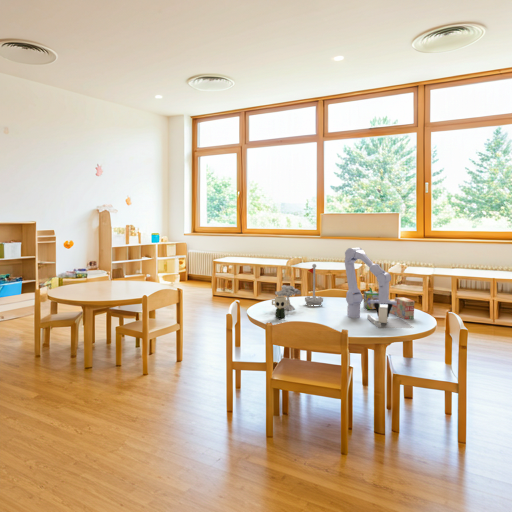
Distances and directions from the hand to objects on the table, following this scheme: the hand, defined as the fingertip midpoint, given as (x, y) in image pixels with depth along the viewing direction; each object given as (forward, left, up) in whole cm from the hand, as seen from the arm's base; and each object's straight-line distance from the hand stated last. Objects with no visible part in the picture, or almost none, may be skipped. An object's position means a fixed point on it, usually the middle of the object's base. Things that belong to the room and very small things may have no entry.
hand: (383, 316), depth 239 cm
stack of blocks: (-20, +17, -5) cm, 27 cm away
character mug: (-18, -59, -5) cm, 62 cm away
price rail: (0, -5, -4) cm, 7 cm away
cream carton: (0, 0, -2) cm, 3 cm away
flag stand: (-57, -32, -5) cm, 66 cm away
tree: (-43, -52, -5) cm, 68 cm away
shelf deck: (0, +4, -5) cm, 6 cm away
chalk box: (-44, +6, -5) cm, 45 cm away
